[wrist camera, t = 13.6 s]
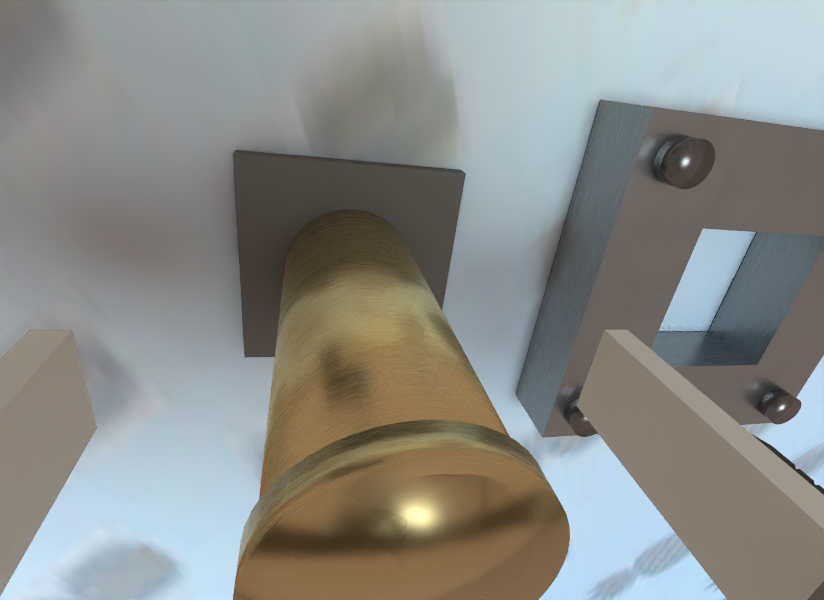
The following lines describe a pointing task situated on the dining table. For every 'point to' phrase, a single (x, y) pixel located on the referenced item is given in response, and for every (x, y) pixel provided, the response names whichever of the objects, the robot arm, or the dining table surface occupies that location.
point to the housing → (686, 261)
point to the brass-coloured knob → (386, 443)
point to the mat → (324, 192)
